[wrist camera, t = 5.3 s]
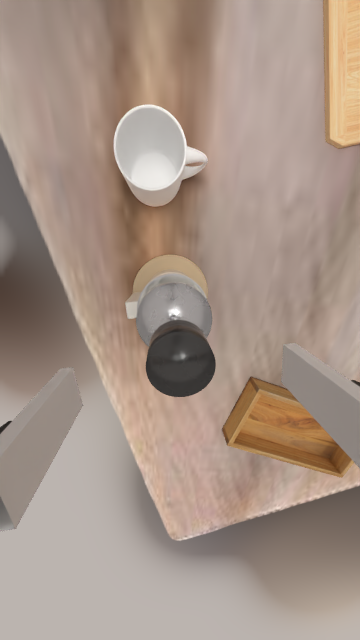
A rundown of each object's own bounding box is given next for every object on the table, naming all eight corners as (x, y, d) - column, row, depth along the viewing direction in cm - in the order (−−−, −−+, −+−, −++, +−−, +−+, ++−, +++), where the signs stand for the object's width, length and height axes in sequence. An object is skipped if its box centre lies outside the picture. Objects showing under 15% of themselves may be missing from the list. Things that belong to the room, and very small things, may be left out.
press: (127, 258, 39) (109, 260, 26) (204, 251, 40) (224, 249, 27) (138, 331, 43) (128, 363, 30) (208, 323, 44) (226, 352, 31)
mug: (202, 205, 37) (216, 187, 27) (131, 209, 37) (119, 192, 27) (200, 145, 35) (214, 101, 25) (124, 149, 34) (107, 105, 24)
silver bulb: (131, 286, 23) (104, 312, 13) (208, 278, 24) (243, 298, 13) (142, 356, 26) (127, 426, 15) (212, 348, 26) (243, 412, 16)
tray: (221, 427, 52) (227, 447, 47) (249, 374, 49) (260, 390, 43) (325, 457, 57) (342, 478, 52) (358, 411, 54) (380, 429, 48)
